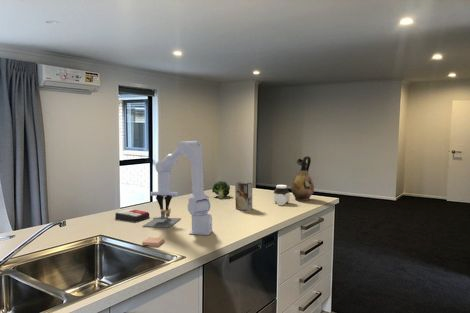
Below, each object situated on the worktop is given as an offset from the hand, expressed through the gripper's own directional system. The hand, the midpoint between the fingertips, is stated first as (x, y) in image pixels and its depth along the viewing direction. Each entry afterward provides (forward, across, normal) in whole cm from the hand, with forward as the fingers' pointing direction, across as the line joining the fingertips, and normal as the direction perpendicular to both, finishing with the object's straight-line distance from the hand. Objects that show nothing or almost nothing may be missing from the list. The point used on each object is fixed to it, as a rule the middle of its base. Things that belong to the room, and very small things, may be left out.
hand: (164, 209), depth 194 cm
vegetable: (+7, -15, -74) cm, 75 cm away
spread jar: (+7, -59, -56) cm, 82 cm away
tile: (+6, -9, +33) cm, 35 cm away
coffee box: (+7, -37, -37) cm, 53 cm away
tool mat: (+6, 0, +3) cm, 7 cm away
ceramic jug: (+7, -73, -72) cm, 103 cm away
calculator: (+7, +20, -4) cm, 22 cm away
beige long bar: (+4, 0, +1) cm, 4 cm away
